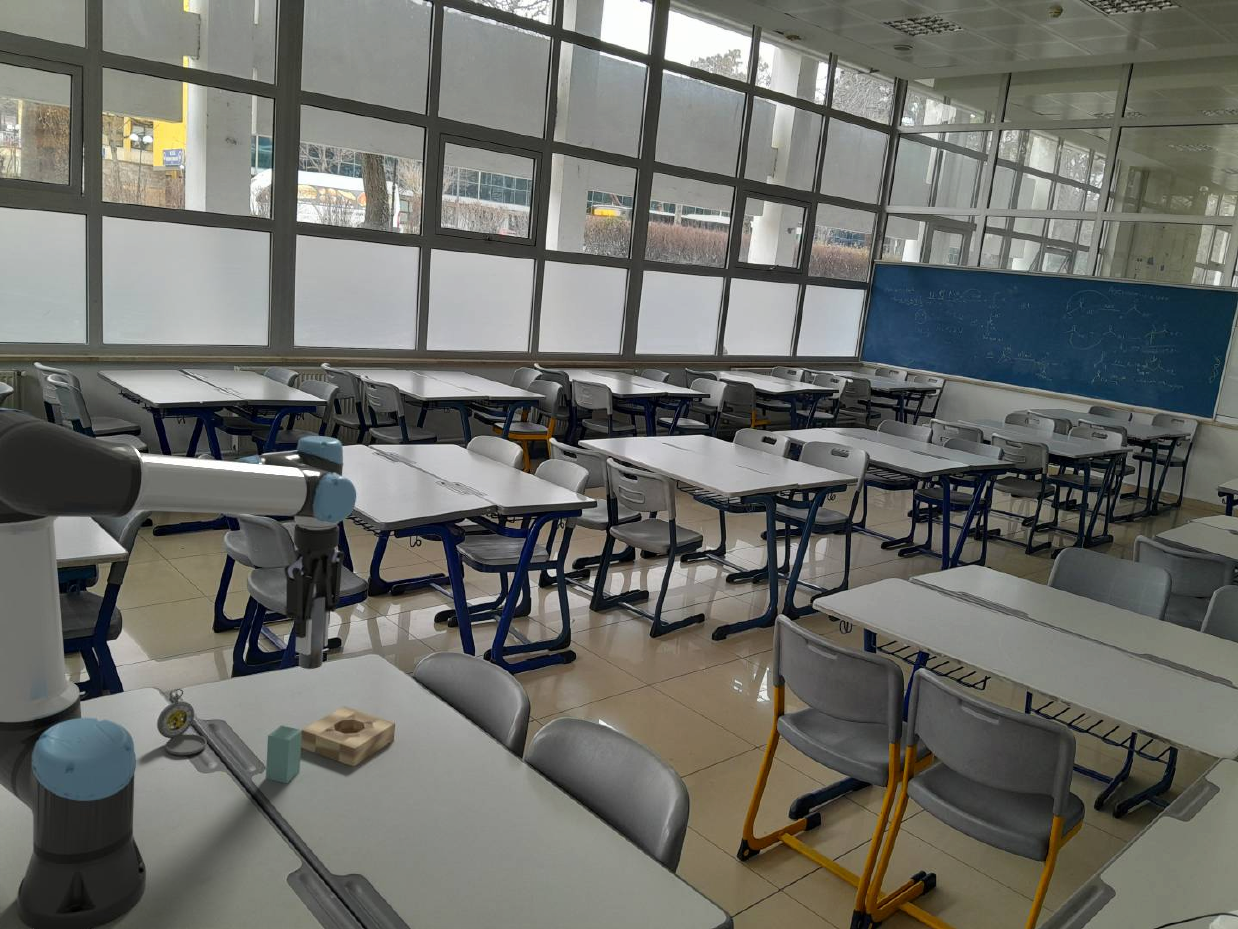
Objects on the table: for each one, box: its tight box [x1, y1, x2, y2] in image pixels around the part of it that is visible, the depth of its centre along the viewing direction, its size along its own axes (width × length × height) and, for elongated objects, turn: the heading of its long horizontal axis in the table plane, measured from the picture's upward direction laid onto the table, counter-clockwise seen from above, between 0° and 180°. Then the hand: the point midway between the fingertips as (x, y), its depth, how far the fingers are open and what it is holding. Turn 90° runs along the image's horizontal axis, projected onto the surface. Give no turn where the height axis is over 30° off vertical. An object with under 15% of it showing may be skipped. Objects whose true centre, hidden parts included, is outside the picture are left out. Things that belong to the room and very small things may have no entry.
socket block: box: [301, 706, 396, 767], centre depth 173 cm, size 12×12×4 cm
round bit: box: [298, 592, 325, 670], centre depth 167 cm, size 4×4×13 cm
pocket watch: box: [156, 688, 208, 756], centre depth 165 cm, size 8×8×10 cm
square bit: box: [265, 725, 303, 784], centre depth 160 cm, size 4×4×8 cm
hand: (311, 648), depth 167 cm, fingers closed on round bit, 4 cm apart
